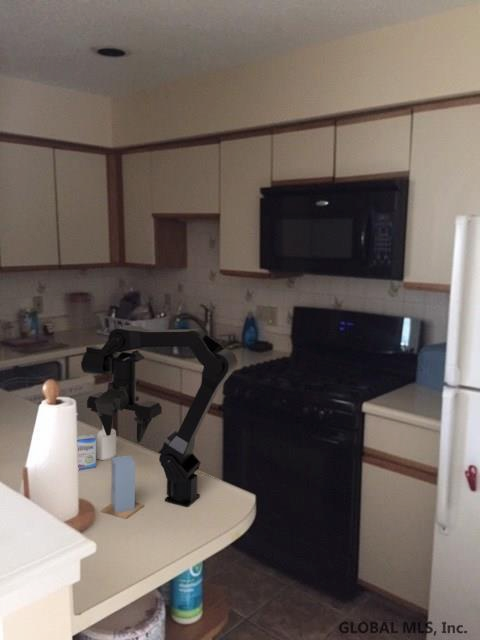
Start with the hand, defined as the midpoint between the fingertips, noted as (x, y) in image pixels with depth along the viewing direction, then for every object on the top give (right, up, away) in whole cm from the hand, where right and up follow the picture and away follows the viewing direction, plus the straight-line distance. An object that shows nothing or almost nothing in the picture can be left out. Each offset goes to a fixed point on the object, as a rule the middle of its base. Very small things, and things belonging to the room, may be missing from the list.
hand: (123, 438), depth 141 cm
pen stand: (+2, -15, -9) cm, 17 cm away
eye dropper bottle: (-9, -10, +21) cm, 25 cm away
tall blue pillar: (+2, -14, -9) cm, 17 cm away
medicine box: (-15, -11, +14) cm, 23 cm away
